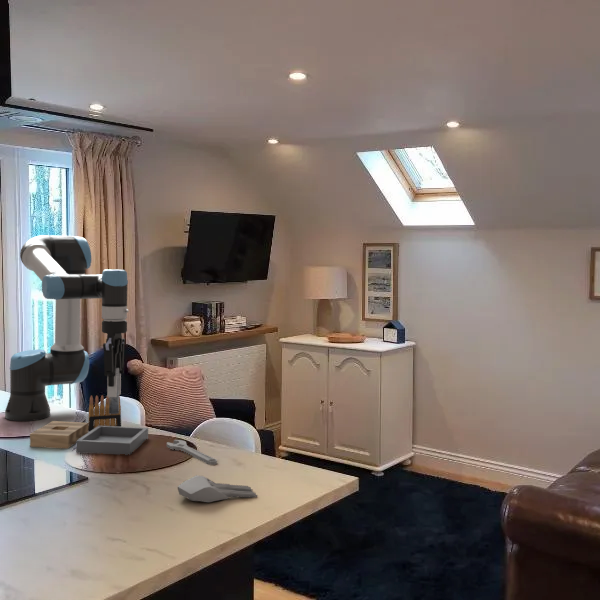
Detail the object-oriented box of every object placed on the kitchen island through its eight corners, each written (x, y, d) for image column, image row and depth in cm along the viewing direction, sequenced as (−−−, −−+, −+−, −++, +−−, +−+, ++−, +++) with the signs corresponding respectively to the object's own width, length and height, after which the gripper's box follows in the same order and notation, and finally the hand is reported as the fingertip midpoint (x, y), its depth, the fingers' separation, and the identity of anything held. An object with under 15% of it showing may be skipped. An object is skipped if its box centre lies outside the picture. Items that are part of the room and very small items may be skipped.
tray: (98, 436, 230) (98, 425, 230) (148, 438, 228) (148, 427, 228) (76, 452, 211) (76, 440, 211) (129, 455, 210) (129, 443, 210)
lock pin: (110, 411, 221) (111, 367, 220) (120, 412, 220) (120, 367, 220) (107, 413, 218) (107, 368, 217) (117, 414, 217) (117, 369, 217)
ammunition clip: (88, 431, 235) (88, 396, 234) (87, 430, 236) (88, 395, 236) (121, 429, 239) (121, 394, 238) (120, 428, 241) (120, 393, 240)
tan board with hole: (52, 433, 232) (52, 421, 232) (88, 434, 231) (88, 422, 231) (30, 446, 216) (30, 433, 216) (68, 448, 215) (68, 435, 215)
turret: (257, 509, 176) (261, 490, 176) (179, 504, 169) (182, 485, 169) (247, 495, 185) (250, 478, 185) (172, 491, 178) (175, 472, 178)
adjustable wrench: (219, 465, 204) (219, 459, 204) (198, 469, 200) (198, 463, 200) (181, 444, 225) (181, 438, 225) (162, 446, 221) (162, 441, 221)
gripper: (117, 322, 209) (117, 401, 210) (134, 317, 225) (134, 390, 226) (92, 322, 209) (92, 400, 211) (111, 317, 225) (111, 389, 227)
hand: (114, 395), depth 219 cm, fingers closed on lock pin, 3 cm apart
